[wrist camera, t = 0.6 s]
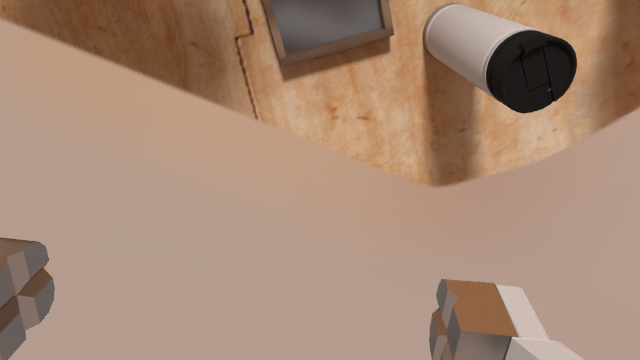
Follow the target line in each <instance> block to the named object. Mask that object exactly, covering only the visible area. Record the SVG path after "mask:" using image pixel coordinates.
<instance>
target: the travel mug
mask: <svg viewBox="0 0 640 360" xmlns="http://www.w3.org/2000/svg"><path fill="white" fill-rule="evenodd" d="M423 41H424V45H425V47H426V49H427V51H428V52H429V53H430V54H431V55H432V56H433V57H435V58H436V59H438V60H439V61H441V62H442V63H443V64H445V65H446V66H448V67H449V68H451V69H452V70H454V71H455V72H457V73H458V74H459V75H461V76H462V77H464V78H465V79H467V80H468V81H470V82H471V83H473V84H474V85H476V86H477V87H478V88H480V89H481V90H483V91H484V92H486V93H487V94H489V95H490V96H492V97H493V98H495V99H496V100H497V101H499V102H501V103H503V104H504V105H506V106H507V107H509V108H510V109H512V110H514V111H516V112H519V113H530V112H534V111H538V110H540V109H543V108H545V107H547V106H548V105H550V104H551V103H552V102H553V101H557V100H558V99H559V98H560V97H561V96H563V95H564V94H565V92H566V91H567V90H568V88H569V87H570V85H571V83H572V81H573V79H574V76H575V73H576V68H577V58H576V54H575V51H574V49H573V48H572V46H571V45H570V44H569V43H568V42H566V41H565V40H563V39H561V38H558V37H555V36H552V35H549V34H546V33H544V32H542V31H539V30H536V29H533V28H530V27H527V26H524V25H521V24H519V23H516V22H513V21H510V20H507V19H504V18H501V17H498V16H495V15H492V14H489V13H486V12H483V11H480V10H477V9H474V8H471V7H468V6H465V5H462V4H458V3H451V4H446V5H443V6H441V7H440V8H438V9H436V10H435V11H434V12H433V13H432V14H431V16H430V17H429V18H428V20H427V22H426V24H425V27H424V32H423Z"/></svg>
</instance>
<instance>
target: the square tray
mask: <svg viewBox="0 0 640 360" xmlns="http://www.w3.org/2000/svg"><path fill="white" fill-rule="evenodd" d="M263 4H264V7H265V11H266V14H267V18H268V21H269V25H270V28H271V32H272V35H273V39H274V42H275V46H276V49H277V53H278V56H279V60H280V63H281V66H284V65H288V64H291V63H295V62H298V61H302V60H306V59H309V58H313V57H315V59H316V58H320V57H324V56H327V55H331V54H335V53H338V52H342V51H345V50H349V49H353V48H356V47H360V44H364V43H367V42H371V41H375V40H378V39H382V38H386V37H389V36H393V35H394V31H393V24H392V18H391V12H390V6H389V0H263Z"/></svg>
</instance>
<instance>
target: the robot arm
mask: <svg viewBox="0 0 640 360" xmlns="http://www.w3.org/2000/svg"><path fill="white" fill-rule="evenodd" d="M48 261H49V258H48V254H47V250H46V246H44V245H43V244H41V243H40V242H36V241H27V240H17V239H9V238H0V360H8V359H9V358H10V357H11V356H12V355H13V353H14V352H15V351H16V350H17V349H18V348H19V346H20V345H21V344H22V343H23V342H24V341H25V340H26V336H25V335H26V334H25V330H27V329H29V328H31V327H33V326H35V325H37V324H39V323H40V322H41V321H42V320H43V319H44V317H45V316H46V315H47V313H48V312H49V310H50V307H51V305H52V302H53V300H54V283H53V278H52V277H51V276H50V275H49V274H48V273H47V271H46V270H45V269H44V267H45V265H46V264H47V262H48ZM436 296H437V301H438V305H439V308H438V309H437V310H436V311H435V312H433V314H432V319H431V324H430V339H429V342H430V351H431V356H432V360H584V359H582V358H581V357H580V356H578V355H577V354H575V353H574V352H573V351H571V350H570V349H568V348H567V347H565V346H564V345H562V344H561V343H560V342H558V341H550V339H549V338H548V336H547V334H546V332H545V330H544V328H543V327H542V325H541V323H540V321H539V319H538V318H537V316H536V314H535V312H534V310H533V308H532V307H531V305H530V303H529V301H528V299H527V297H526V296H525V294H524V292H523V290H522V288H521V287H520V286H519V285H517V284H511V283H493V282H492V283H485V282H472V281H460V280H446V279H441V281H440V283H439V286H438V290H437V294H436Z"/></svg>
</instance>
